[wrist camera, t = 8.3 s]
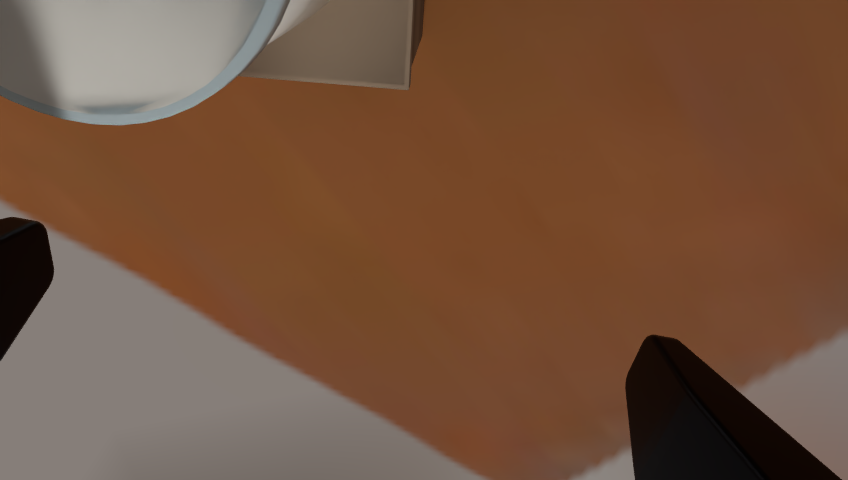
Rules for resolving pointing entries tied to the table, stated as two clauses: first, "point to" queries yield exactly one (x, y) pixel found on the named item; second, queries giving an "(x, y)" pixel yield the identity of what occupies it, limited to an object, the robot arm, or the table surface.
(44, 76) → the beaker
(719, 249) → the table surface
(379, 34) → the beige box
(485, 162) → the table surface
